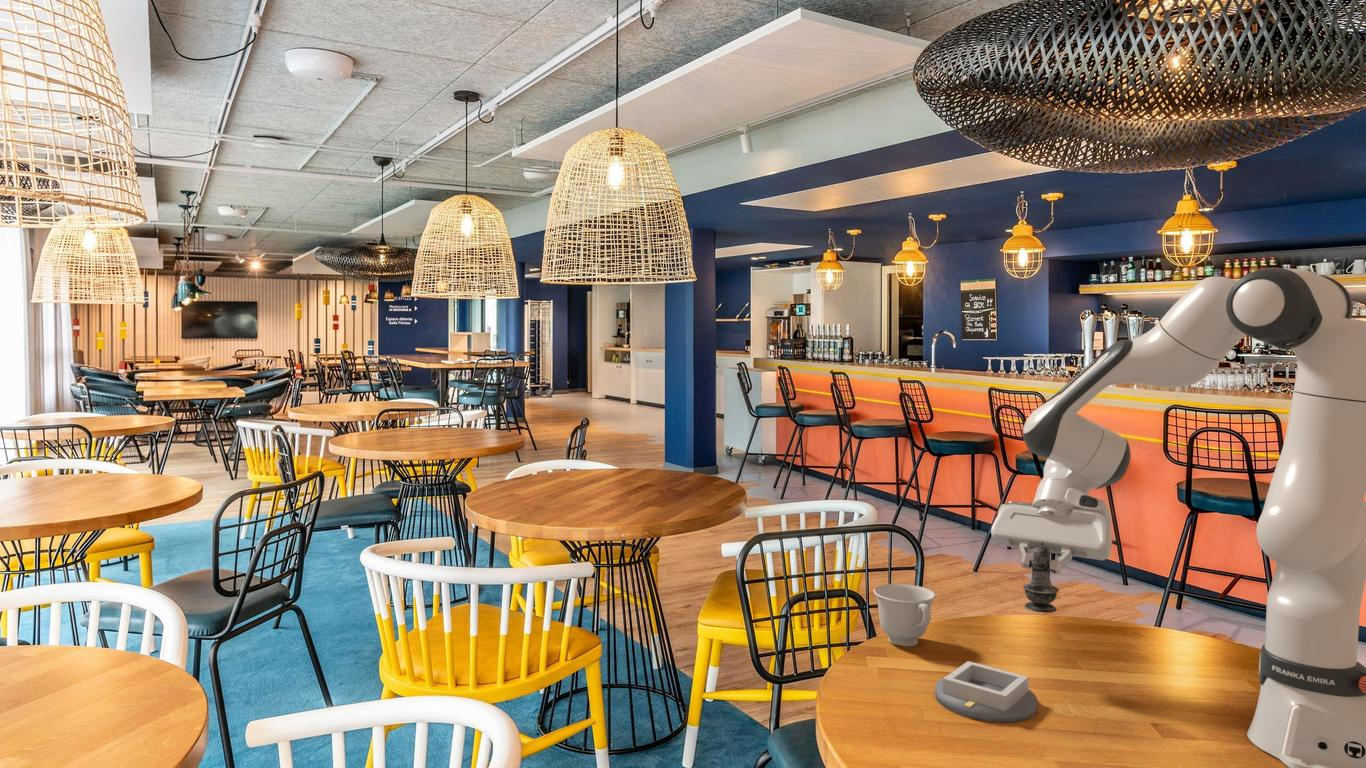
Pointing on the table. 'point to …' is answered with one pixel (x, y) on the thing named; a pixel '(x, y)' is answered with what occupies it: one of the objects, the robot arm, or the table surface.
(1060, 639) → the table surface
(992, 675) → the socket stand
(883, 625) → the teacup
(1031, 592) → the dark grey tapered piece
